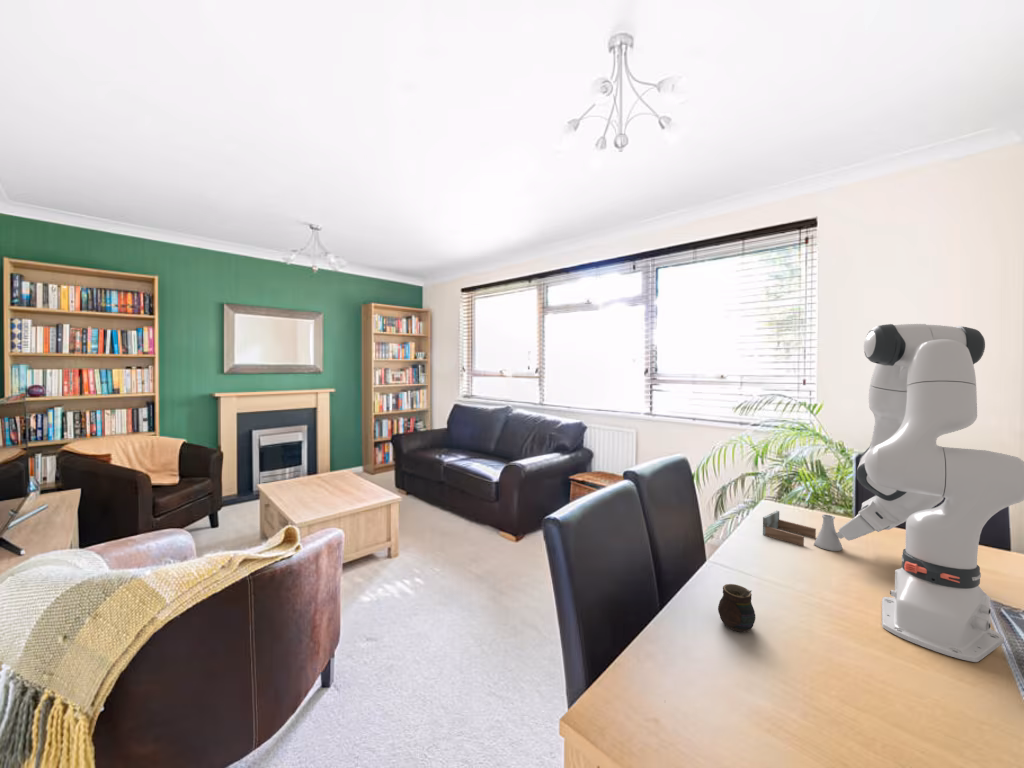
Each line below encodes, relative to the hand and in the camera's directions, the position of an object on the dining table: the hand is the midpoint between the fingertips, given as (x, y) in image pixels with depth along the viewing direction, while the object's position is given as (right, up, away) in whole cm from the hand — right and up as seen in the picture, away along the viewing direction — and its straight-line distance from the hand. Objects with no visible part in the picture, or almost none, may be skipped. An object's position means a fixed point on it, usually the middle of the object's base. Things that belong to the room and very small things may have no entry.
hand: (839, 535), depth 128 cm
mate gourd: (-54, -6, -39) cm, 66 cm away
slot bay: (-8, -4, +11) cm, 14 cm away
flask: (-2, -5, +2) cm, 5 cm away
